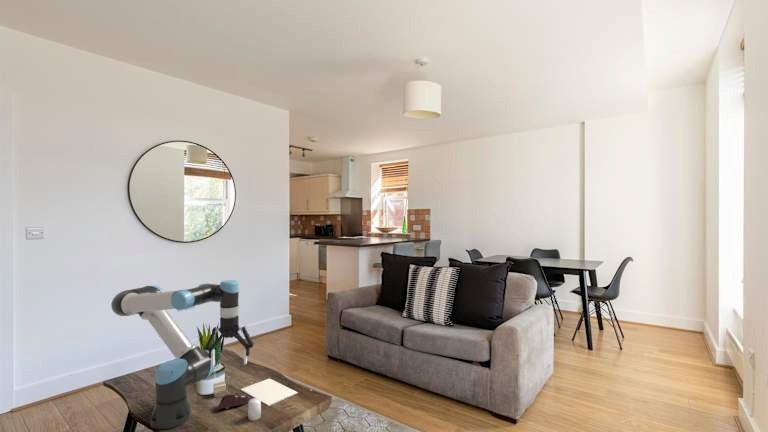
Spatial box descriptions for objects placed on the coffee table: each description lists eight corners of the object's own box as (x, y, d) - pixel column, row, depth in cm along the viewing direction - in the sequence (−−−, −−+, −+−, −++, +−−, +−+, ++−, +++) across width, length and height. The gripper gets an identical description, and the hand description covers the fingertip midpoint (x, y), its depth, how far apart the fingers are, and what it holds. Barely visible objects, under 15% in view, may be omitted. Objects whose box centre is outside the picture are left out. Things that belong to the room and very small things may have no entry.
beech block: (225, 395, 180) (225, 385, 180) (214, 397, 177) (214, 387, 177) (224, 391, 184) (224, 380, 184) (213, 393, 182) (213, 383, 182)
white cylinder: (259, 420, 158) (259, 403, 158) (247, 420, 157) (247, 404, 157) (261, 413, 163) (261, 397, 163) (249, 414, 162) (249, 398, 162)
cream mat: (297, 393, 182) (297, 392, 182) (268, 406, 169) (268, 405, 169) (269, 379, 197) (269, 378, 197) (240, 390, 185) (240, 389, 185)
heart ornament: (217, 415, 166) (225, 393, 175) (245, 417, 167) (251, 395, 176) (216, 406, 163) (224, 384, 172) (244, 408, 164) (251, 387, 173)
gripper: (260, 312, 172) (260, 359, 172) (202, 314, 168) (202, 362, 168) (257, 317, 164) (257, 365, 164) (196, 319, 160) (196, 369, 160)
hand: (229, 364), depth 166 cm, fingers open, 13 cm apart
